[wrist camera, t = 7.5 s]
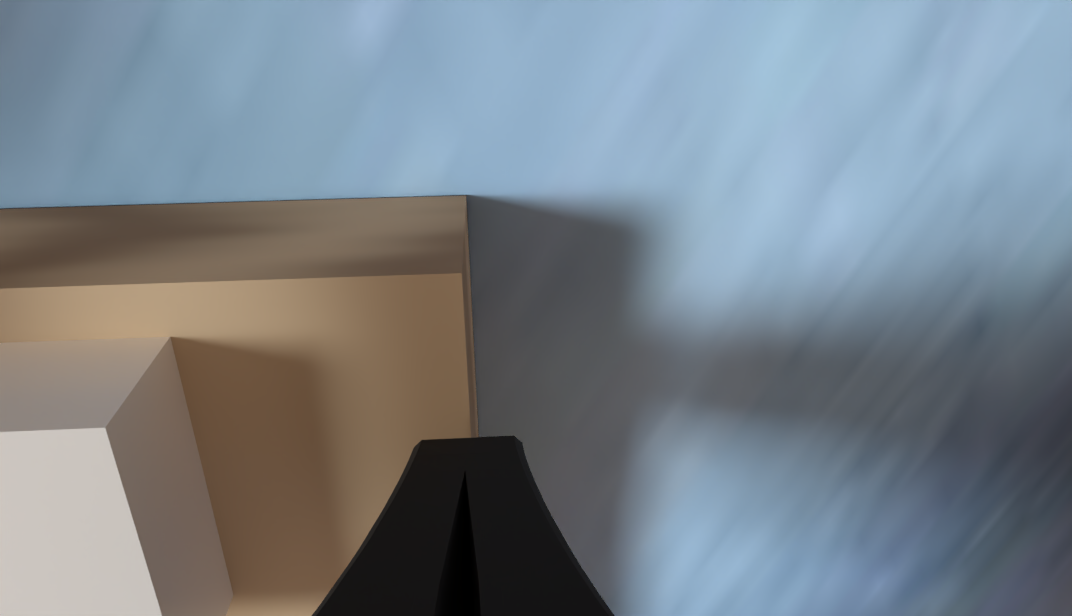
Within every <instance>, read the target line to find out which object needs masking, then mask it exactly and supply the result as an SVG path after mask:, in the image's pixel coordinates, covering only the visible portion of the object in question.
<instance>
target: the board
mask: <svg viewBox="0 0 1072 616" xmlns="http://www.w3.org/2000/svg"><path fill="white" fill-rule="evenodd" d="M147 337H171V341H172V346H173V350H174V354H175V358H176V362H177V366H178V370H179V374H180V378H181V382H182V387H183V391H184V395H185V399H186V403H187V407H188V411H189V415H190V419H191V423H192V427H193V432H194V436H195V440H196V444H197V448H198V452H199V456H200V460H201V464H202V468H203V472H204V477H205V481H206V485H207V489H208V493H209V497H210V501H211V505H212V509H213V513H214V518H215V522H216V526H217V530H218V534H219V538H220V542H221V546H222V550H223V554H224V558H225V563H226V567H227V571H228V575H229V579H230V583H231V587H232V591H233V598H232V600H231V603H230V606H229V609H228V611H227V614H226V616H312V614H313V613H314V612H315V611H316V609H317V608H318V607H319V605H320V604H321V603H322V601H323V600H324V598H325V597H326V595H327V594H328V593H329V591H330V590H331V588H332V587H333V586H334V584H335V583H336V581H337V580H338V578H339V577H340V576H341V574H342V573H343V571H344V570H345V568H346V567H347V566H348V564H349V563H350V561H351V560H352V558H353V557H354V555H355V554H356V552H357V551H358V549H359V548H360V546H361V545H362V543H363V541H364V540H365V538H366V536H367V535H368V533H369V531H370V530H371V528H372V527H373V525H374V523H375V522H376V520H377V518H378V517H379V515H380V513H381V512H382V510H383V508H384V507H385V505H386V503H387V501H388V499H389V498H390V496H391V494H392V492H393V490H394V489H395V487H396V485H397V483H398V481H399V479H400V477H401V475H402V473H403V471H404V469H405V467H406V465H407V462H408V460H409V458H410V456H411V453H412V451H413V448H414V447H415V446H416V445H417V444H418V443H419V442H420V441H421V440H428V439H451V438H474V437H479V434H478V414H477V395H476V376H475V356H474V337H473V318H472V298H471V279H470V260H469V240H468V221H467V202H466V196H432V197H398V198H363V199H329V200H295V201H260V202H226V203H191V204H157V205H123V206H88V207H54V208H20V209H0V343H11V342H38V341H65V340H93V339H120V338H147Z"/></svg>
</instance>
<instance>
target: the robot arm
mask: <svg viewBox="0 0 1072 616" xmlns="http://www.w3.org/2000/svg"><path fill="white" fill-rule="evenodd" d="M312 616H614V614H613V613H612V612H611V610H610V609H609V607H608V606H607V605H606V603H605V602H604V600H603V599H602V598H601V596H600V595H599V593H598V592H597V590H596V589H595V587H594V586H593V584H592V583H591V581H590V580H589V578H588V577H587V575H586V574H585V572H584V571H583V569H582V568H581V566H580V564H579V563H578V561H577V560H576V558H575V556H574V555H573V553H572V551H571V550H570V548H569V546H568V545H567V543H566V541H565V539H564V537H563V536H562V534H561V532H560V530H559V529H558V527H557V525H556V523H555V521H554V520H553V518H552V516H551V514H550V512H549V510H548V508H547V506H546V504H545V502H544V500H543V498H542V496H541V494H540V492H539V490H538V487H537V485H536V483H535V481H534V478H533V476H532V473H531V471H530V468H529V466H528V463H527V460H526V457H525V453H524V450H523V445H522V442H521V441H519V440H518V439H517V438H516V437H515V436H498V437H474V438H451V439H428V440H421V441H420V442H419V443H418V444H417V445H416V446H415V447H414V448H413V451H412V453H411V456H410V458H409V460H408V462H407V465H406V467H405V469H404V471H403V473H402V475H401V477H400V479H399V481H398V483H397V485H396V487H395V489H394V490H393V492H392V494H391V496H390V498H389V499H388V501H387V503H386V505H385V507H384V508H383V510H382V512H381V513H380V515H379V517H378V518H377V520H376V522H375V523H374V525H373V527H372V528H371V530H370V531H369V533H368V535H367V536H366V538H365V540H364V541H363V543H362V545H361V546H360V548H359V549H358V551H357V552H356V554H355V555H354V557H353V558H352V560H351V561H350V563H349V564H348V566H347V567H346V568H345V570H344V571H343V573H342V574H341V576H340V577H339V578H338V580H337V581H336V583H335V584H334V586H333V587H332V588H331V590H330V591H329V593H328V594H327V595H326V597H325V598H324V600H323V601H322V603H321V604H320V605H319V607H318V608H317V609H316V611H315V612H314V613H313V614H312Z"/></svg>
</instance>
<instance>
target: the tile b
mask: <svg viewBox="0 0 1072 616" xmlns="http://www.w3.org/2000/svg"><path fill="white" fill-rule="evenodd" d="M232 598H233V591H232V587H231V583H230V579H229V575H228V571H227V567H226V563H225V558H224V554H223V550H222V546H221V542H220V538H219V534H218V530H217V526H216V522H215V518H214V513H213V509H212V505H211V501H210V497H209V493H208V489H207V485H206V481H205V477H204V472H203V468H202V464H201V460H200V456H199V452H198V448H197V444H196V440H195V436H194V432H193V427H192V423H191V419H190V415H189V411H188V407H187V403H186V399H185V395H184V391H183V387H182V382H181V378H180V374H179V370H178V366H177V362H176V358H175V354H174V350H173V346H172V341H171V337H147V338H120V339H93V340H65V341H38V342H11V343H0V616H226V614H227V611H228V609H229V606H230V603H231V600H232Z"/></svg>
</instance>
